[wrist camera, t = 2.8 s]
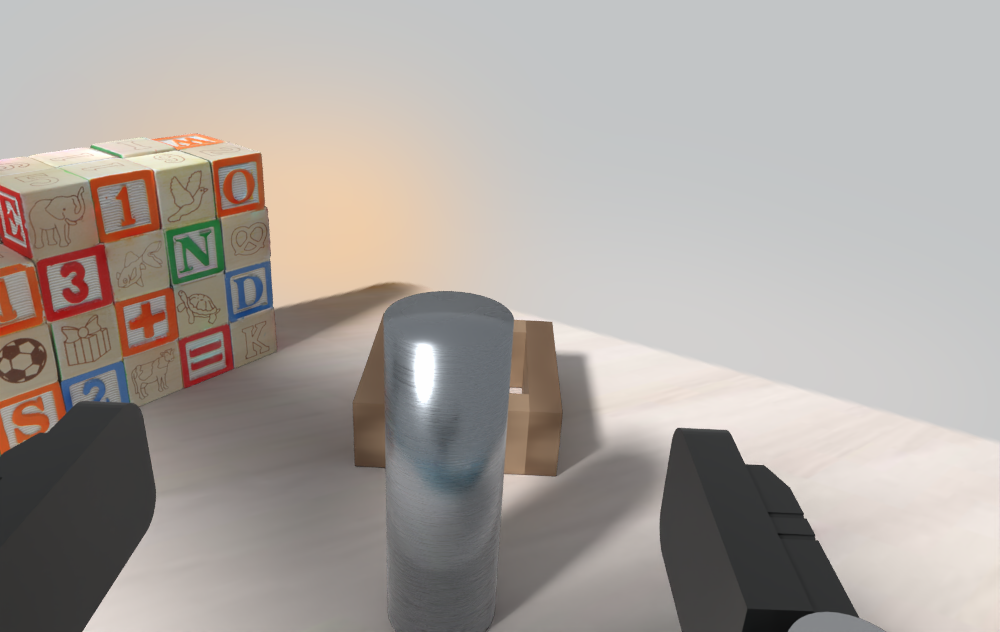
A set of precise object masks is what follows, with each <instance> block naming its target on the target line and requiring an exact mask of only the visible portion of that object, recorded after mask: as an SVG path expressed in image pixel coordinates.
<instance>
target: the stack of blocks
mask: <svg viewBox="0 0 1000 632" xmlns="http://www.w3.org/2000/svg"><path fill="white" fill-rule="evenodd" d="M270 256H271V250H270V234H269V219H268V209H267V207H266V206H265V198H264V183H263V168H262V157H261V153H260V152H258V151H255V150H252V149H249V148H246V147H242V146H239V145H236V144H233V143H230V142H227V143H226V142H224V141H222V140H218V139H215V138H211V137H208V136H204V135H200V134H187V135H181V136H173V137H165V138H158V139H147V138H143V137H142V138H133V139H127V140H120V141H111V142H104V143H97V144H92V145H91V147H90V148H87V147H82V148H74V149H68V150H62V151H54V152H48V153H42V154H35V155H31V156H29V157H16V158H9V159H1V160H0V456H1V455H2V454H3V453H4V452H6V451H8V450H9V449H11V448H13V447H15V446H16V445H18V444H20V443H22V442H24V441H25V440H27V439H29V438H31V437H33V436H34V435H36V434H38V433H47V432H48V431H49V430H50V429H51V428H52V427H53V426H54V425H55V424H56V423H57V422H58V421H59V420H60V419H61V418H62V417H63V416H64V415H65V414H66V413H67V412H68V411H69V410H70V409H71V408H72V407H73V406H74V405H75V404H76V403H78V402H80V401H100V402H123V403H134V404H136V405H137V406H138V407H139V406H141V405H144V404H146V403H149V402H151V401H153V400H156V399H159V398H161V397H163V396H166V395H168V394H171V393H173V392H176V391H178V390H180V389H182V388H187V387H190V386H192V385H195V384H197V383H200V382H202V381H205V380H207V379H210V378H212V377H215V376H217V375H220V374H222V373H224V372H227V371H229V370H232V369H234V368H237V367H240V366H242V365H245V364H247V363H250V362H252V361H255V360H257V359H260V358H262V357H265V356H267V355H269V354H272V353H274V352H276V351H277V341H276V330H275V314H274V307H273V294H272V282H271V263H270Z"/></svg>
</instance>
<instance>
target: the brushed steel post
mask: <svg viewBox="0 0 1000 632" xmlns="http://www.w3.org/2000/svg"><path fill="white" fill-rule="evenodd" d="M383 326H384V393H385V460H386V526H387V593H388V616H389V620H390V622H391V624H392V626H393V628H394V629H395V631H396V632H485V631H486V630H487V629H488V627H489V626H490V624H491V622H492V620H493V617H494V613H495V600H496V585H497V570H498V555H499V540H500V525H501V510H502V495H503V480H504V465H505V449H506V434H507V419H508V404H509V389H510V374H511V359H512V344H513V329H514V318H513V315H512V313H511V312H510V311H509V309H507V308H506V307H505V306H504V305H502V304H501V303H499V302H497V301H495V300H492V299H490V298H487V297H484V296H480V295H476V294H471V293H465V292H454V291H437V292H427V293H421V294H416V295H412V296H408V297H406V298H403V299H401V300H398V301H397V302H395V303H393V304H392V305H391V306H389V307H388V309H387V310H386V311H385V313H384V317H383Z"/></svg>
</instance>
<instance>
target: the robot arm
mask: <svg viewBox="0 0 1000 632" xmlns="http://www.w3.org/2000/svg"><path fill="white" fill-rule="evenodd" d="M155 502H156V489H155V482H154V476H153V471H152V465H151V459H150V454H149V448H148V443H147V437H146V431H145V426H144V420H143V416H142V413H141V410H140V408H139V407H138V406H137V405H136V404H134V403H123V402H100V401H80V402H78V403H76V404H75V405H74V406H73V407H72V408H71V409H70V410H69V411H68V412H67V413H66V414H65V415H64V416H63V417H62V418H61V419H60V420H59V421H58V422H57V423H56V424H55V425H54V426H53V427H52V428H51V429H50V430H49V431H48V432H47V433H38V434H36V435H34V436H33V437H31V438H29V439H27V440H25V441H24V442H22V443H20V444H18V445H16V446H15V447H13V448H11V449H9V450H8V451H6V452H4V453H3V454H2V455H1V456H0V632H82V631H83V630H84V628H85V627H86V625H87V623H88V622H89V620H90V619H91V617H92V616H93V614H94V613H95V611H96V609H97V608H98V606H99V605H100V603H101V602H102V600H103V599H104V597H105V595H106V594H107V592H108V591H109V589H110V588H111V586H112V585H113V583H114V581H115V580H116V578H117V577H118V575H119V574H120V572H121V570H122V569H123V567H124V566H125V564H126V563H127V561H128V560H129V558H130V556H131V555H132V553H133V552H134V550H135V549H136V547H137V546H138V544H139V542H140V541H141V539H142V538H143V536H144V535H145V533H146V531H147V530H148V528H149V526H150V523H151V520H152V517H153V514H154V509H155ZM803 515H804V513H803V511H802V509H801V508H800V506H799V504H798V502H797V500H796V498H795V496H794V494H793V493H792V491H791V489H790V487H788V486H787V485H786V484H785V483H784V482H783V481H782V480H780V479H779V478H778V477H777V476H776V475H775V474H774V473H772V472H771V471H770V470H769V469H768V468H767V467H766V466H764V465H746V464H745V463H744V461H743V459H742V457H741V455H740V452H739V450H738V448H737V446H736V444H735V442H734V440H733V438H732V435H731V434H730V432H729V431H727V430H714V429H691V428H677V429H676V431H675V432H674V435H673V439H672V444H671V450H670V456H669V462H668V469H667V475H666V481H665V487H664V493H663V499H662V506H661V512H660V543H661V551H662V555H663V559H664V563H665V567H666V571H667V575H668V579H669V583H670V587H671V591H672V594H673V598H674V602H675V606H676V610H677V614H678V618H679V622H680V626H681V630H682V632H886V631H884V630H883V629H881V628H879V627H877V626H875V625H874V624H872V623H870V622H867V621H865V620H863V619H860V618H859V616H858V614H857V613H856V611H855V609H854V607H853V605H852V603H851V601H850V599H849V598H848V596H847V594H846V592H845V590H844V588H843V586H842V584H841V583H840V581H839V579H838V577H837V575H836V573H835V571H834V569H833V568H832V566H831V564H830V562H829V560H828V558H827V556H826V554H825V553H824V551H823V549H822V547H821V545H820V543H819V541H818V540H815V534H814V532H813V530H812V528H811V526H810V524H809V523H808V521H807V519H804V516H803Z"/></svg>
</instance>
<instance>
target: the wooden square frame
mask: <svg viewBox="0 0 1000 632" xmlns="http://www.w3.org/2000/svg"><path fill="white" fill-rule="evenodd" d="M383 317H384V314H383ZM383 317H382V320H381V323H380V326H379V329H378V331H377V334H376V337H375V340H374V343H373V346H372V349H371V352H370V354H369V357H368V360H367V363H366V366H365V369H364V372H363V375H362V377H361V380H360V383H359V386H358V389H357V392H356V395H355V398H354V400H353V425H354V453H355V466H364V467H384V468H386V460H385V393H384V326H383ZM510 387H521V388H522V394H512V393H509V404H508V419H507V434H506V449H505V465H504V473H505V474H525V475H545V476H556V472H557V462H558V453H559V443H560V433H561V424H562V414H563V413H562V404H561V395H560V387H559V378H558V369H557V360H556V352H555V343H554V334H553V325H552V322H544V321H525V320H514V329H513V344H512V359H511V374H510Z"/></svg>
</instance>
